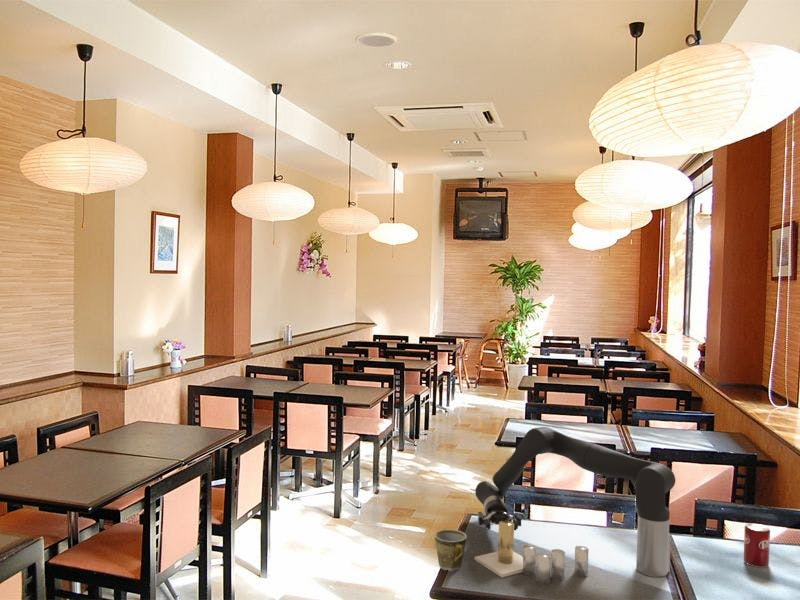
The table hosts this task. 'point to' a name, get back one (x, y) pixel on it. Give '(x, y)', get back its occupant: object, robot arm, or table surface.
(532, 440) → the robot arm
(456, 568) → the ceramic cup
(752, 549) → the soda can
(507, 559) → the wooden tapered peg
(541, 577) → the spacers
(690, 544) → the table surface
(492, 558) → the pad
